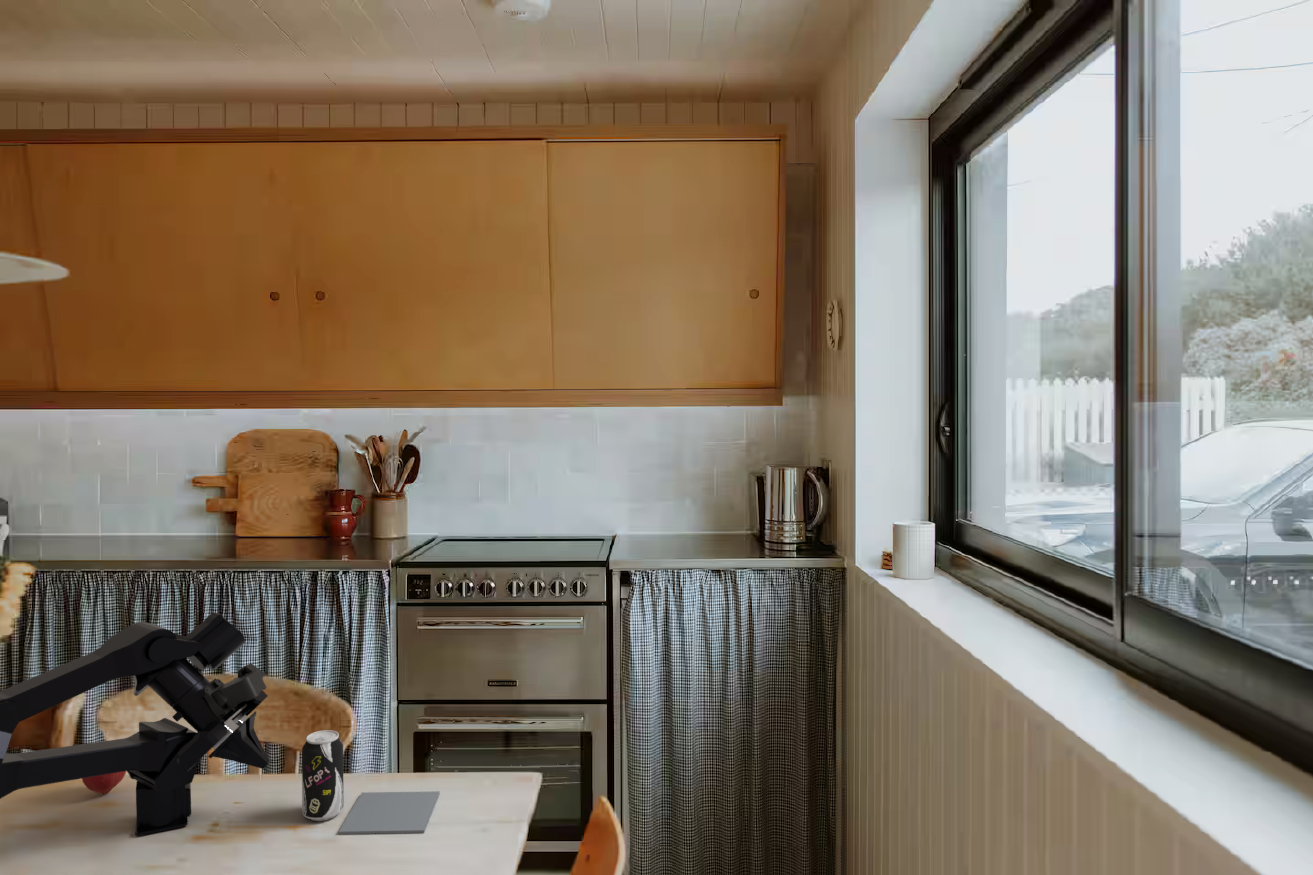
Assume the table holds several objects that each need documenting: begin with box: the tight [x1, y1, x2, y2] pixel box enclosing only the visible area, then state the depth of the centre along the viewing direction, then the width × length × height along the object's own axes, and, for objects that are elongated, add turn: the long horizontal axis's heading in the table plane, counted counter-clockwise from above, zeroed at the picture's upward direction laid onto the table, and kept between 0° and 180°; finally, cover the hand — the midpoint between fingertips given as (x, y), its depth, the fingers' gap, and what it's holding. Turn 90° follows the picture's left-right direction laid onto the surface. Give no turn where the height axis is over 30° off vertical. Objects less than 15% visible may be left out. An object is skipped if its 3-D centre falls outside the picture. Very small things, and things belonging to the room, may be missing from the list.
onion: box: [81, 771, 127, 795], centre depth 134 cm, size 6×6×8 cm
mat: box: [338, 790, 441, 835], centre depth 130 cm, size 12×12×1 cm
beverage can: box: [301, 729, 344, 822], centre depth 129 cm, size 6×6×12 cm
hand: (266, 765), depth 128 cm, fingers closed
